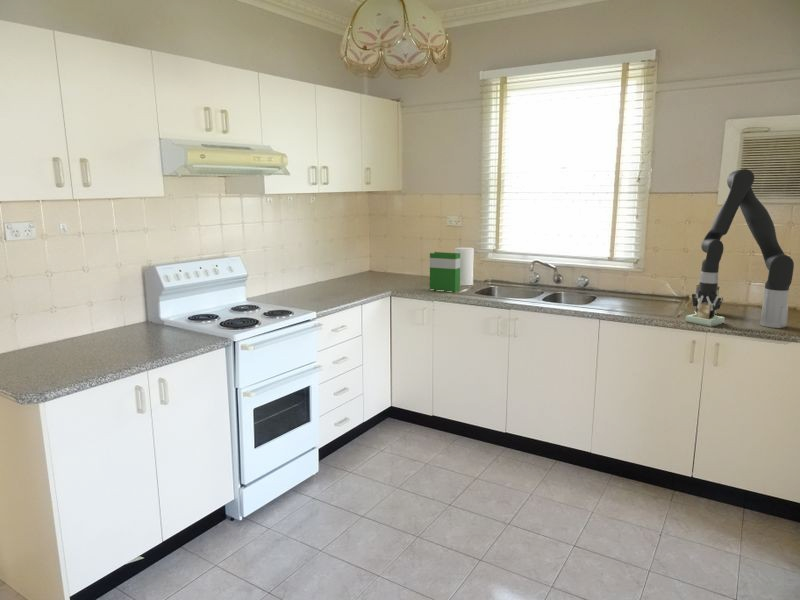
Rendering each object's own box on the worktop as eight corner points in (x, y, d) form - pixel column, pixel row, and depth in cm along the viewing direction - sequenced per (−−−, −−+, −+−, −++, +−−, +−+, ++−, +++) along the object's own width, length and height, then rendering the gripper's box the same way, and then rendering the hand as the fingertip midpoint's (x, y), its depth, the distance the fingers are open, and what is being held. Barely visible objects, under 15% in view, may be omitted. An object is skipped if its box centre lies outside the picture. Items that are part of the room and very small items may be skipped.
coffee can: (689, 312, 288) (691, 285, 285) (704, 310, 291) (707, 284, 288) (705, 316, 278) (708, 288, 275) (721, 314, 281) (724, 287, 278)
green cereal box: (429, 290, 355) (429, 253, 350) (434, 288, 361) (434, 252, 356) (455, 292, 346) (455, 254, 342) (459, 291, 353) (460, 253, 348)
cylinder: (472, 286, 368) (473, 249, 363) (453, 286, 370) (454, 248, 365) (473, 283, 380) (474, 247, 375) (455, 283, 382) (455, 247, 377)
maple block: (713, 318, 263) (714, 303, 262) (707, 319, 260) (709, 305, 259) (702, 316, 267) (704, 302, 266) (696, 317, 264) (698, 303, 263)
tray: (724, 323, 262) (724, 317, 262) (710, 326, 256) (711, 320, 255) (698, 318, 272) (699, 312, 272) (685, 321, 266) (685, 315, 265)
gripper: (728, 282, 256) (724, 318, 260) (697, 278, 268) (694, 313, 271) (720, 284, 252) (716, 320, 256) (689, 280, 264) (686, 315, 267)
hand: (705, 316), depth 264 cm, fingers closed on maple block, 4 cm apart
